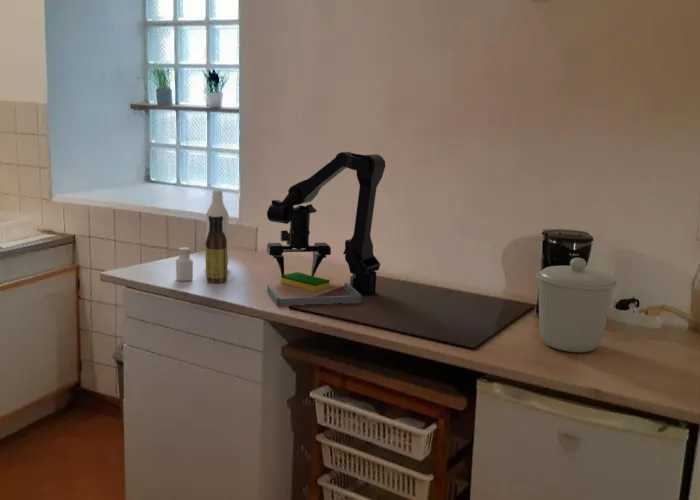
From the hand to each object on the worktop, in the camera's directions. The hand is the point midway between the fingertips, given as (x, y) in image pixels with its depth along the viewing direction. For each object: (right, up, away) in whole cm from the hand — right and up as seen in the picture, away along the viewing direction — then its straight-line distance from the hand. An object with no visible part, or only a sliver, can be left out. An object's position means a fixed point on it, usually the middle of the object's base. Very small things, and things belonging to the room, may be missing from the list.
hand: (297, 276), depth 218 cm
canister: (+67, -15, -50) cm, 85 cm away
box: (+6, -5, -18) cm, 20 cm away
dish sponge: (+2, -3, -5) cm, 6 cm away
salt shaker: (-33, -1, -6) cm, 34 cm away
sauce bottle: (-24, -1, -6) cm, 24 cm away
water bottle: (-26, +2, +10) cm, 28 cm away
